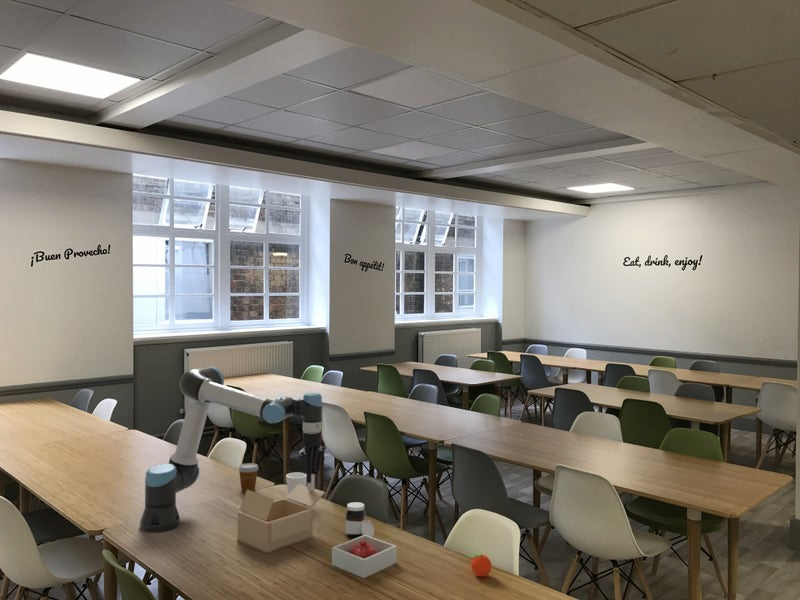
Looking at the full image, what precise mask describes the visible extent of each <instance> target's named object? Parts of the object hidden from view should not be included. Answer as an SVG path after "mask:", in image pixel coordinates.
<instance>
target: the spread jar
mask: <svg viewBox="0 0 800 600" xmlns="http://www.w3.org/2000/svg"><path fill="white" fill-rule="evenodd" d="M346 504H347V505H346V507H347V508H346V512H345V534H346V535H345V536H347V537H349V538H358V537H360V536H363V535H367V536H370V537H373V536H374V533H375V528H374V524H373V522H372V521H371V520H369V519H367V520H366V511H365V504H364V503H363V502H359V501H358V502H357V501H355V502H349V503H346ZM373 538H374V537H373Z"/></svg>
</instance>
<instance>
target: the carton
mask: <svg viewBox="0 0 800 600" xmlns="http://www.w3.org/2000/svg"><path fill="white" fill-rule="evenodd" d="M313 518H314V508H313V507H310V506H307V505H304V504H303V505H300V504H298V503H295V502H292V501H289V499H287V498H281V499H278V500H273V503H272V506H271V509H270V512H269V514H268V517H267V520H266V521H265V520H262V519H260V518H257V517H255V516H252V515H250V514H247V513H244V512H242V511H239V510H238V511H237V537H236V538H237V541H238V542H240V543H241V544H244V545H247V546H248V547H251V548H254V549H255V550H257V551H260V552H262V553H265V554H269V553H273V552H276V551H278V550H281V549H283V548H286V547H289V546H291V545H295V544H297V543H299V542H303V541H305V540H308V539H311V538H313V527H314V525H313V523H314V519H313Z"/></svg>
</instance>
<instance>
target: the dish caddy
mask: <svg viewBox="0 0 800 600" xmlns="http://www.w3.org/2000/svg"><path fill="white" fill-rule="evenodd" d="M362 540H365V541H367V544H370V545H372V546H373V547H374V548H375V549H376V551H377V554H374V555H372V556H370V557H367V558H365V559H363V558H361V557H358V556H356V555H353V554H350V553H349V552H350V549H351V547H353V546H355V545H358V544H360V541H362ZM397 551H398V546H397V545H395V544H393V543H389V542H387V541H384V540H381V539H378V538H375V537H370V536H367V535H363V536H360V537H354V538H353V539H351V540H348V541H345V542H342V543H340V544H337V545H335V546H332V548H331V566H333V567H336V568H339V569H341V570H344V571H346V572H348V573H350V574H353V575H355V576H357V577H360V578H361V579H362V578H363V579H365V578H367V577H369V576H372V575H374V574H375V573H378V572H380V571H383V570H385V569H386V568H389V567H390V566H393V565H396V564H397V562H398V560H397V558H398V557H397V556H398V555H397V554H398V553H397Z"/></svg>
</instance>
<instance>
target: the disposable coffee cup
mask: <svg viewBox="0 0 800 600" xmlns="http://www.w3.org/2000/svg"><path fill="white" fill-rule="evenodd" d="M238 471H239V478H240V479H239V480H240V489H241V492H242V493H246V491H247V490H250V491H253V492H255V491H256V484H257V478H258V477H257V476H258V471H259V466H258V464H257V463H254V462H253V463H250V462H249V463H242V464H240V465H239V466H238Z"/></svg>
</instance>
